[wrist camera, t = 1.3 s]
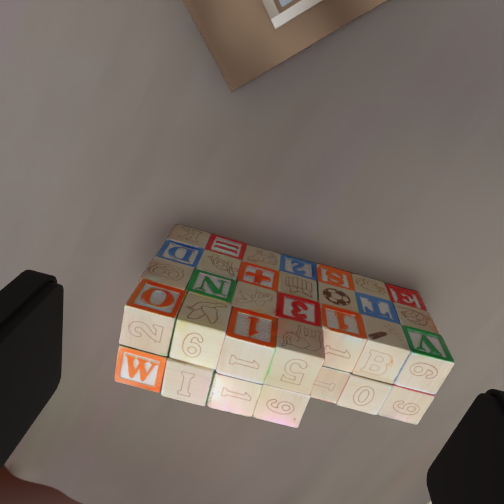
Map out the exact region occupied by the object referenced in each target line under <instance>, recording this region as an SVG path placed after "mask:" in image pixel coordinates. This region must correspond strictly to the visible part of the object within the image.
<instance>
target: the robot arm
mask: <svg viewBox="0 0 504 504" xmlns="http://www.w3.org/2000/svg"><path fill="white" fill-rule="evenodd" d="M63 292H64V291H63V286H62V285H60V284H57V280H56V277H54V276H52V275H48V274H44V273H40V272H36V271H33V270H25V271H24V272H22V273H21V274H20V275H19V276H17V277H16V278H15V279H14V280H13V281H11V282H10V283H9V284H8V285H7V286H5V287H4V288H3V289H2V290H1V291H0V469H1V468H2V466H3V465H4V464H5V462H6V461H7V459H8V458H9V456H10V455H11V454H12V452H13V451H14V449H15V448H16V446H17V445H18V444H19V442H20V441H21V439H22V438H23V436H24V435H25V434H26V432H27V431H28V429H29V428H30V426H31V425H32V424H33V422H34V421H35V419H36V418H37V416H38V415H39V414H40V412H41V411H42V409H43V408H44V406H45V405H46V404H47V402H48V401H49V399H50V398H51V396H52V395H53V394H54V392H55V390H56V389H57V387H58V384H59V382H60V378H61V363H62V328H63ZM427 487H428V491H429V494H430V498H431V501H432V504H504V391H500V390H496V389H490V390H488V391H487V392H486V393H485V394H484V393H481V394H479V395H478V396H477V397H476V399H475V400H474V402H473V403H472V405H471V406H470V408H469V409H468V411H467V412H466V414H465V415H464V417H463V418H462V420H461V421H460V423H459V424H458V426H457V427H456V429H455V430H454V432H453V433H452V435H451V436H450V438H449V439H448V441H447V442H446V444H445V445H444V447H443V448H442V450H441V451H440V453H439V454H438V456H437V457H436V459H435V460H434V462H433V463H432V465H431V466H430V468H429V470H428V473H427Z"/></svg>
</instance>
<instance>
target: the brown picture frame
mask: <svg viewBox="0 0 504 504" xmlns="http://www.w3.org/2000/svg"><path fill="white" fill-rule="evenodd" d="M385 1H387V0H183V2H184V4H185V6H186V7H187V9H188V11H189V13H190V15H191V17H192V19H193V20H194V22H195V24H196V26H197V28H198V30H199V32H200V34H201V35H202V37H203V39H204V41H205V43H206V45H207V47H208V49H209V50H210V52H211V54H212V56H213V58H214V60H215V62H216V64H217V65H218V67H219V69H220V71H221V73H222V75H223V77H224V78H225V80H226V82H227V84H228V86H229V88H230V90H231V92H232V91H234V90H236V89H237V88H239V87H241V86H242V85H244V84H246V83H248V82H249V81H251V80H253V79H254V78H256V77H258V76H259V75H261V74H263V73H265V72H266V71H268V70H270V69H271V68H273V67H275V66H276V65H278V64H280V63H281V62H283V61H285V60H287V59H288V58H290V57H292V56H293V55H295V54H297V53H298V52H300V51H302V50H304V49H305V48H307V47H309V46H310V45H312V44H314V43H315V42H317V41H319V40H321V39H322V38H324V37H326V36H327V35H329V34H331V33H332V32H334V31H336V30H338V29H339V28H341V27H343V26H344V25H346V24H348V23H349V22H351V21H353V20H355V19H356V18H358V17H360V16H361V15H363V14H365V13H366V12H368V11H370V10H371V9H373V8H375V7H377V6H378V5H380V4H382V3H383V2H385Z"/></svg>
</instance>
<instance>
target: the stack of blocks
mask: <svg viewBox="0 0 504 504" xmlns="http://www.w3.org/2000/svg"><path fill="white" fill-rule="evenodd" d="M119 343H120V346H119V349H118V356H117V363H116V370H115V381H116V382H120V383H124V384H128V385H132V386H136V387H140V388H143V389H147V390H151V391H154V392H161V395H163V396H165V397H169V398H173V399H177V400H181V401H185V402H189V403H193V404H197V405H201V406H205V405H206V404H207V405H208V406H209V407H211V408H214V409H218V410H223V411H227V412H231V413H236V414H240V415H243V416H248V417H250V416H254V417H255V418H258V419H262V420H266V421H270V422H274V423H278V424H282V425H287V426H291V427H295V428H298V425H299V423H300V420H301V418H302V416H303V413H304V411H305V408H306V406H307V403H308V401H309V399H310V397H311V398H315V399H319V400H323V401H327V402H331V403H336V404H337V405H339V406H343V407H347V408H351V409H355V410H358V411H362V412H366V413H370V414H374V415H377V414H378V415H381V416H384V417H388V418H392V419H396V420H399V421H403V422H407V423H411V424H418V422H419V421H420V419H421V418H422V416H423V415H424V413H425V411H426V410H427V408H428V407H429V405H430V404H431V402H432V401H433V399H434V397H435V393H436V392H437V391H438V389H439V388H440V386H441V385H442V383H443V382H444V380H445V378H446V376H447V375H448V374H449V372H450V370H451V369H452V367H453V365H454V364H455V363H454V360H453V358H452V356H451V354H450V352H449V350H448V348H447V346H446V344H445V342H444V340H443V337H442V336H441V335H439V333H438V331H437V328H436V326H435V324H434V322H433V320H432V318H431V316H430V314H429V312H427V309H426V307H425V305H424V303H423V300H422V298H421V296H420V295H419V293H418V292H416V291H412V290H408V289H404V288H400V287H396V286H393V285H389V284H384V282H382V281H378V280H375V279H371V278H368V277H364V276H361V275H357V274H351V273H349V272H346V271H343V270H339V269H336V268H333V267H329V266H325V265H322V264H315V263H312V262H308V261H304V260H301V259H297V258H294V257H290V256H287V255H281V254H279V253H275V252H272V251H268V250H264V249H261V248H257V247H254V246H250V245H247V244H245V243H242V242H239V241H235V240H232V239H228V238H225V237H221V236H217V235H214V234H210V233H208V232H204V231H201V230H197V229H194V228H190V227H187V226H183V225H179V224H177V225H176V226H175V227H174V229H173V230H172V232H171V233H170V235H169V236H168V238H167V241H166V242H165V243H164V245H163V246H162V248H161V249H160V250H159V252H158V253H157V255H156V256H155V258H153V259H152V261H151V262H150V263H149V266H148V267H147V268H146V270H145V271H144V273H143V275H142V276H141V278H140V283H139V284H138V286H137V288H136V289H135V291H134V292H133V294H132V295H131V297H130V298H129V300H128V301H127V303H126V304H125V308H124V315H123V321H122V328H121V334H120V340H119Z"/></svg>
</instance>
